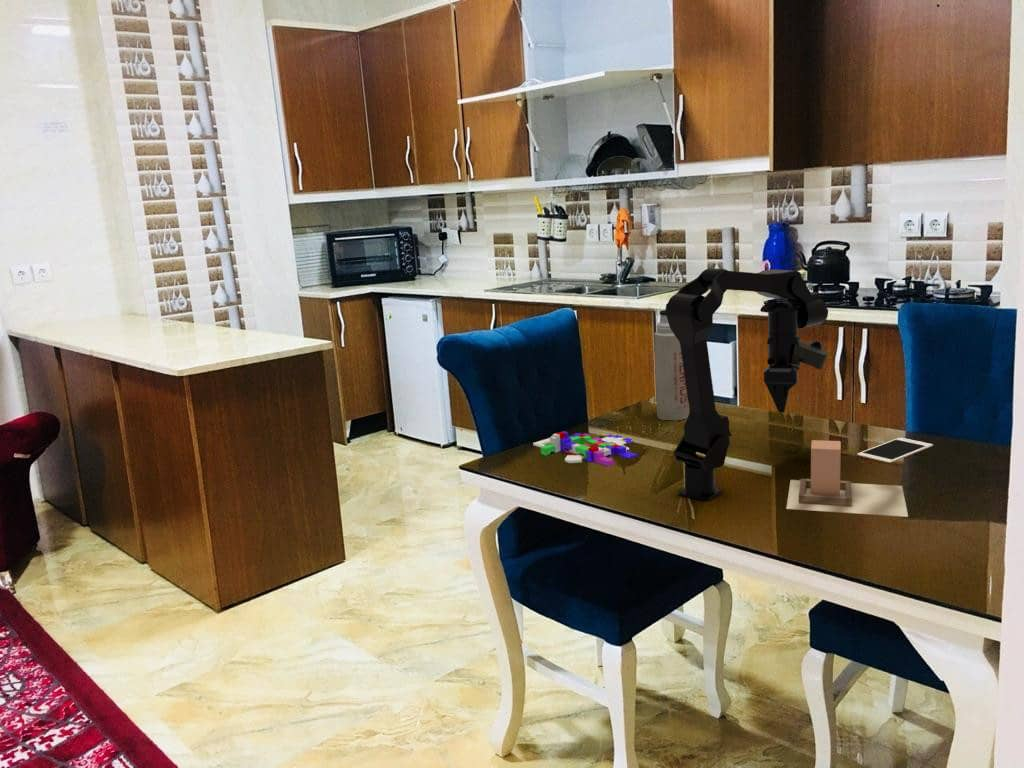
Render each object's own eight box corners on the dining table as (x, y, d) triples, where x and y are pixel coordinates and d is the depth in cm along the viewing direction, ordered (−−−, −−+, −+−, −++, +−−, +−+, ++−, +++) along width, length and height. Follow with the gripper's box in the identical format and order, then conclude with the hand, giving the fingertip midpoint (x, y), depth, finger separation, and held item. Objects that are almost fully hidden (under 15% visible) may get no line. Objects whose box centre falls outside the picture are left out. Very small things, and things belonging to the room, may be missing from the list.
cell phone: (933, 447, 181) (933, 444, 181) (889, 464, 173) (889, 461, 173) (900, 439, 188) (900, 437, 187) (856, 456, 179) (856, 453, 179)
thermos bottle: (694, 417, 214) (692, 309, 208) (668, 423, 211) (665, 314, 205) (676, 411, 222) (673, 306, 215) (651, 416, 219) (647, 310, 212)
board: (786, 513, 151) (786, 500, 151) (790, 484, 165) (790, 472, 164) (908, 522, 144) (908, 508, 144) (901, 490, 158) (902, 478, 157)
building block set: (659, 451, 192) (659, 433, 191) (592, 474, 181) (591, 454, 180) (588, 431, 212) (587, 414, 211) (523, 450, 201) (522, 432, 200)
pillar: (810, 500, 154) (811, 448, 152) (811, 490, 159) (811, 440, 156) (839, 501, 152) (840, 449, 150) (839, 491, 157) (840, 441, 155)
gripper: (824, 340, 158) (823, 420, 161) (825, 323, 175) (824, 395, 178) (763, 341, 162) (763, 418, 165) (770, 324, 179) (770, 394, 182)
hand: (782, 406), depth 173 cm, fingers open, 9 cm apart
